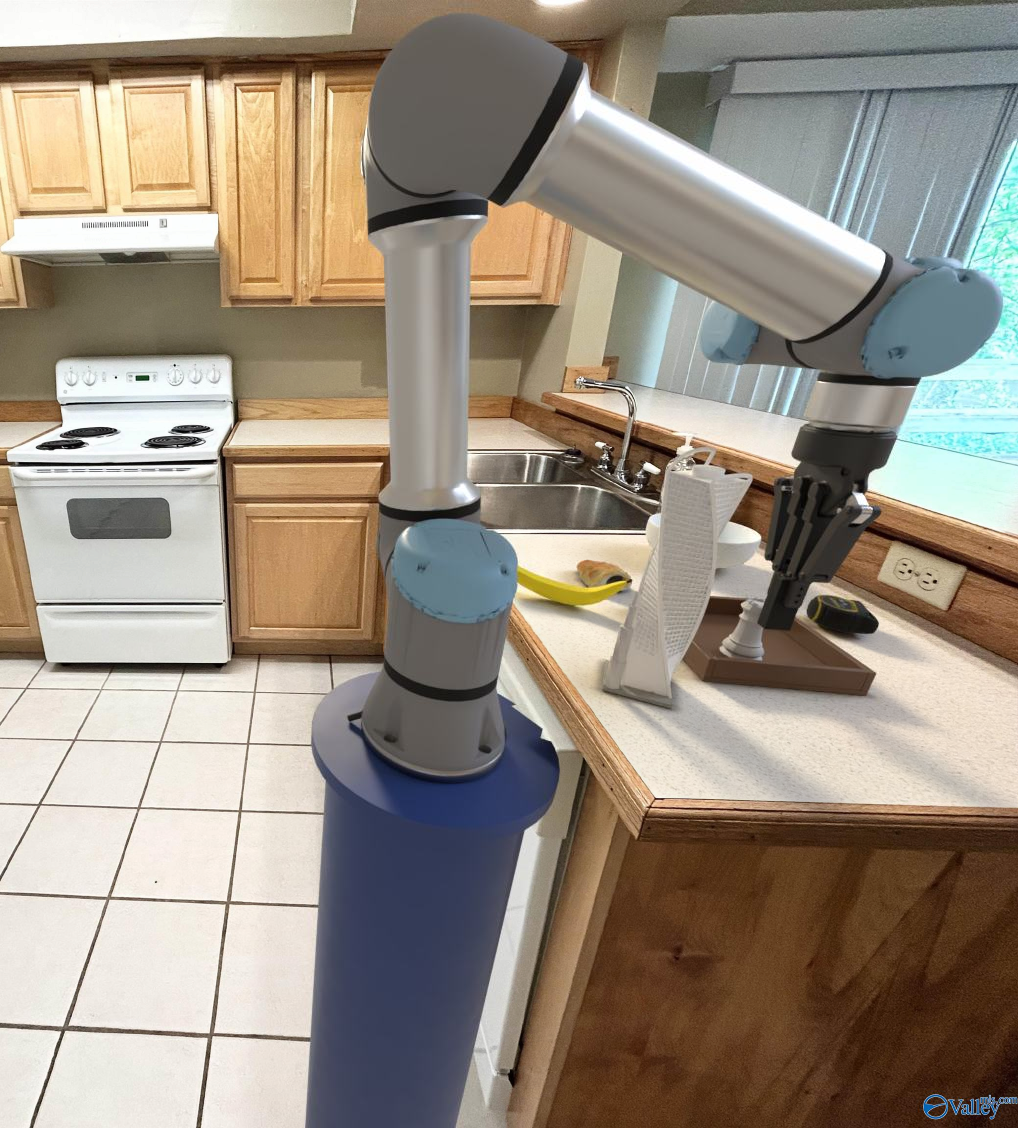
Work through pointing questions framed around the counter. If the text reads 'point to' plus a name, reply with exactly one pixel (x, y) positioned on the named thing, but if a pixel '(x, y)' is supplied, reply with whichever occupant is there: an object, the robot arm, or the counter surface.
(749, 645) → the rook chess piece
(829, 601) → the tape measure
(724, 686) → the counter surface
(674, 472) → the skyscraper
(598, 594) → the banana
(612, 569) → the pastry
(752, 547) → the cereal bowl
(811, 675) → the tray
